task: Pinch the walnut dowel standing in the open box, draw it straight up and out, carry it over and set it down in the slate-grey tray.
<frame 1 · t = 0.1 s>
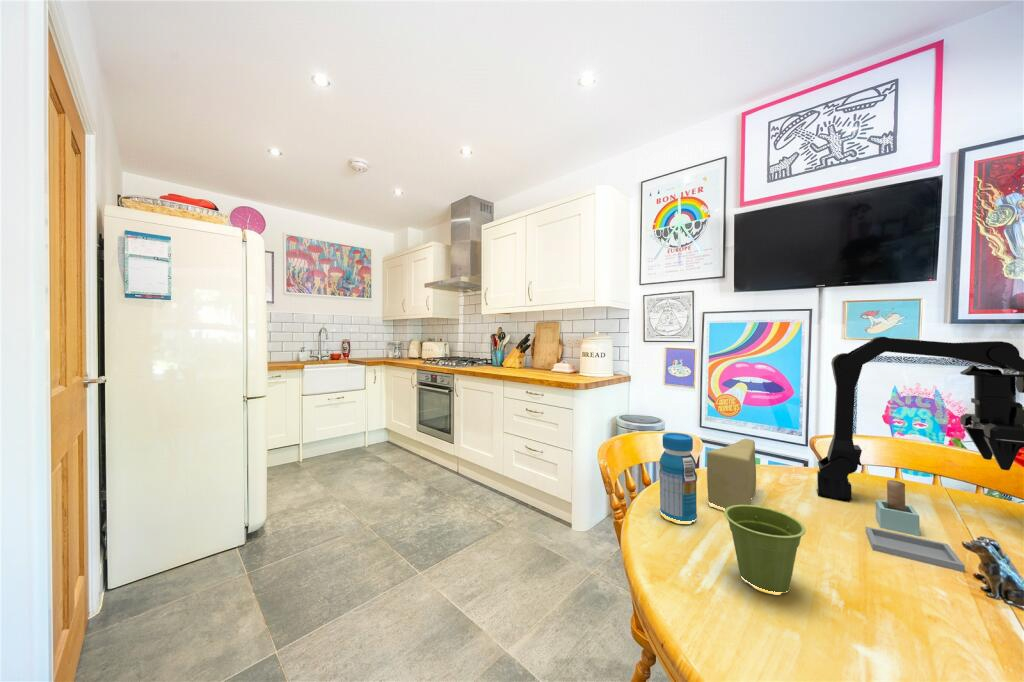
hand: (995, 464, 83), 15 cm above the table, tool pointing down, fingers open, 9 cm apart
beverage bottle: (678, 518, 89), on the table
open box: (896, 529, 83), on the table
dowel: (896, 526, 83), point 1 cm above the table, touching open box
plant pot: (763, 584, 64), on the table
tray: (910, 553, 73), on the table
cheese: (740, 501, 99), on the table
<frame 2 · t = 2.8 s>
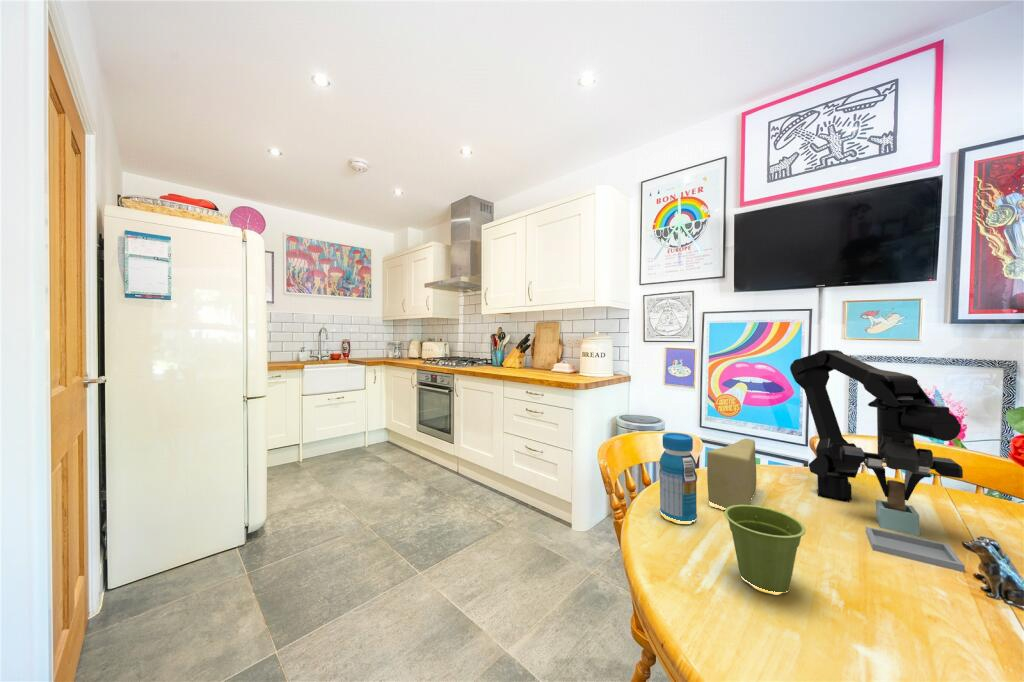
hand: (896, 498, 83), 7 cm above the table, tool pointing down, fingers closed on dowel, 3 cm apart
dowel: (896, 526, 83), point 1 cm above the table, touching open box, gripper
everything else where it was.
when the fingers open (8 cm above the table, at t = 5.6 s): dowel stays where it is, resting on tray.
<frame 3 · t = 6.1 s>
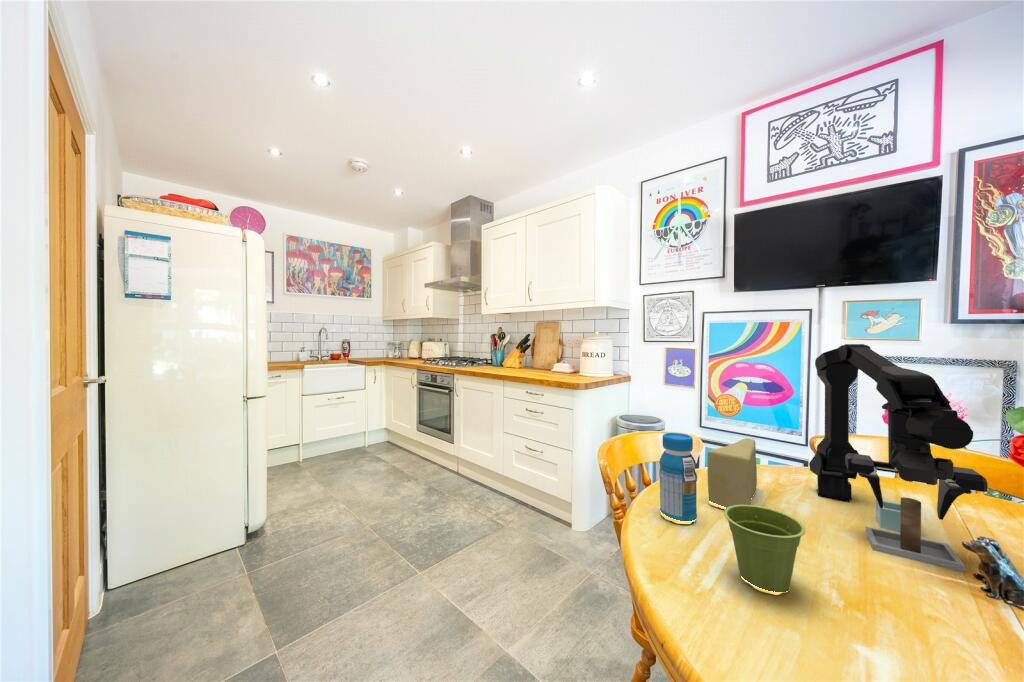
hand: (909, 513, 74), 8 cm above the table, tool pointing down, fingers open, 8 cm apart
dowel: (910, 549, 73), point 1 cm above the table, touching tray
everything else where it was.
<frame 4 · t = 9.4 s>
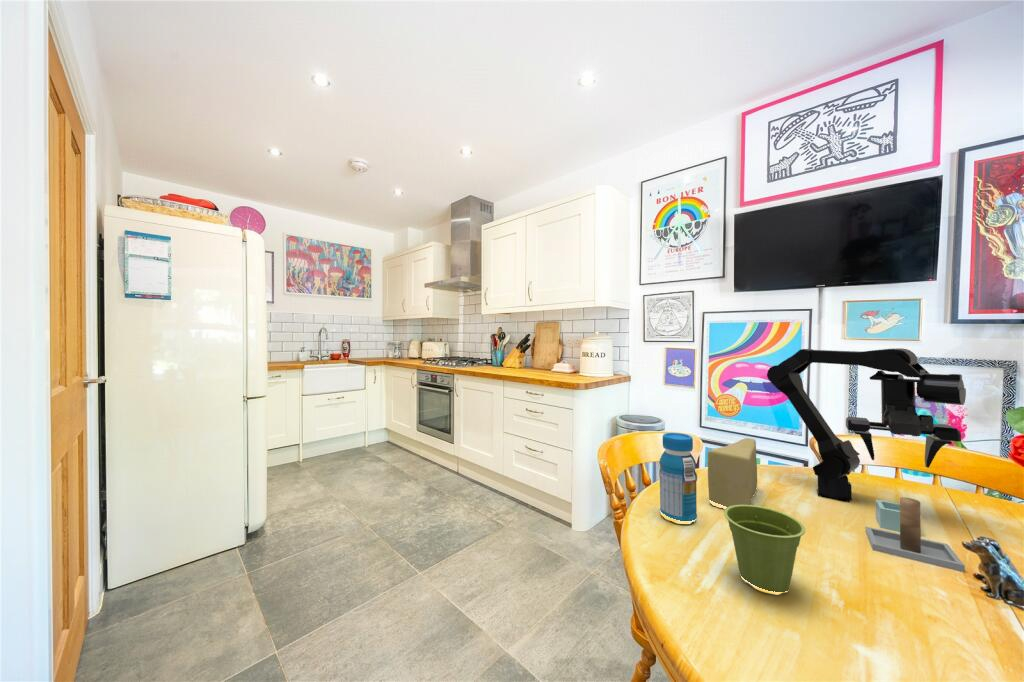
hand: (899, 463, 89), 13 cm above the table, tool pointing down, fingers open, 9 cm apart
at the end: dowel inside the target area on the tray (0.0 cm from its centre), point 0.6 cm above the tray's base; the gripper is holding nothing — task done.
